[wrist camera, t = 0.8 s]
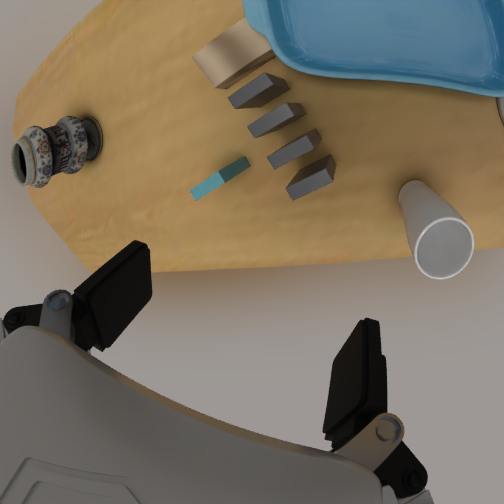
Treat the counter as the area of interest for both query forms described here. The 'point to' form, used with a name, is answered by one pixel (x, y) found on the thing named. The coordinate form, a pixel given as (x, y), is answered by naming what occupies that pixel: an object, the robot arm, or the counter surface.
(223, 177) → the domino teal
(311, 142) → the domino
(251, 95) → the domino
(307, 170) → the domino
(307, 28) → the casserole dish
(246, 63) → the oak block
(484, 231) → the counter surface
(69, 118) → the apothecary jar
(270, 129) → the domino
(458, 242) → the drinking glass
